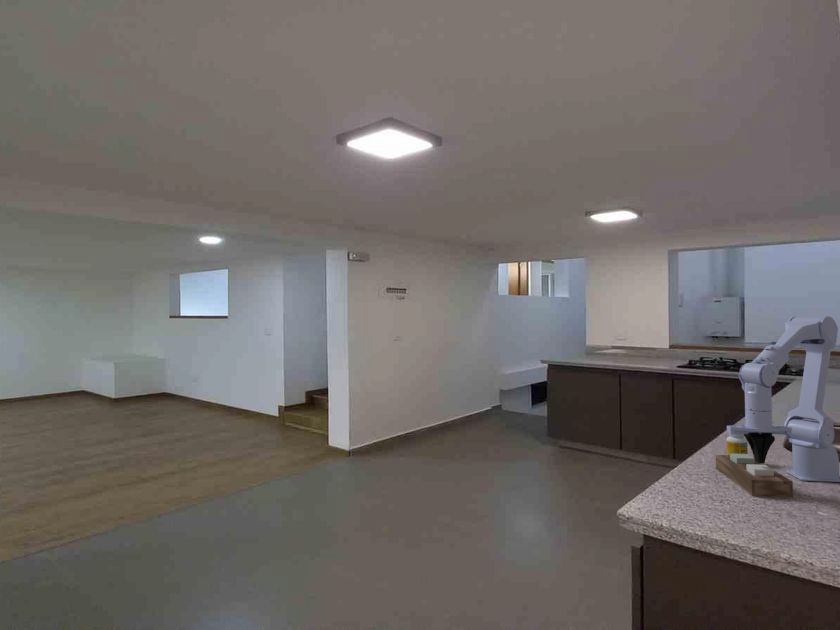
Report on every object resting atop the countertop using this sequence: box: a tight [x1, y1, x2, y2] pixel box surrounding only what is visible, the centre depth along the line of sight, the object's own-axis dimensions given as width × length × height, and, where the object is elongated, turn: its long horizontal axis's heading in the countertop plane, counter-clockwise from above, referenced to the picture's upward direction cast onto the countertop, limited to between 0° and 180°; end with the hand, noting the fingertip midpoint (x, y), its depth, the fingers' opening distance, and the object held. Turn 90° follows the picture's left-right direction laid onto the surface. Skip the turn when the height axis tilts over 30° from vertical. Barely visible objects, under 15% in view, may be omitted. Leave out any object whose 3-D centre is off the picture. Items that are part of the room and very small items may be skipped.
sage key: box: [730, 453, 755, 464], centre depth 135 cm, size 4×4×3 cm
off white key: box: [746, 464, 775, 476], centre depth 125 cm, size 4×4×3 cm
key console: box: [715, 454, 794, 499], centre depth 130 cm, size 9×22×4 cm, turn 169°
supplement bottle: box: [725, 433, 749, 455], centre depth 147 cm, size 5×5×10 cm
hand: (759, 462), depth 125 cm, fingers closed
